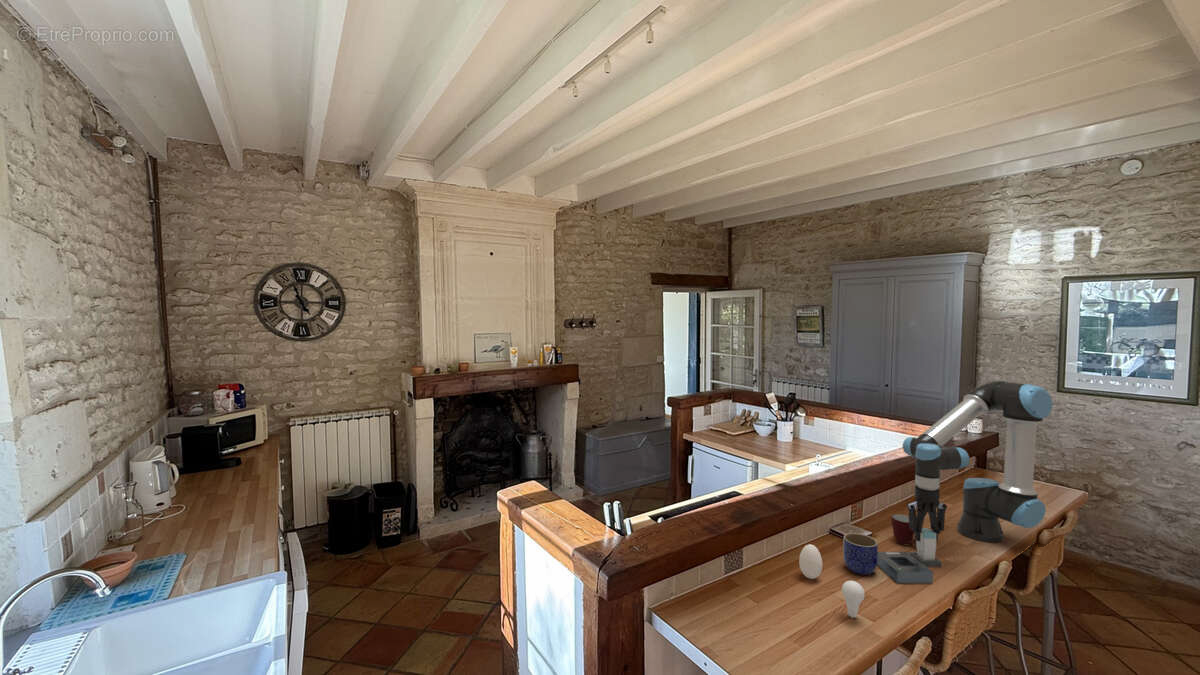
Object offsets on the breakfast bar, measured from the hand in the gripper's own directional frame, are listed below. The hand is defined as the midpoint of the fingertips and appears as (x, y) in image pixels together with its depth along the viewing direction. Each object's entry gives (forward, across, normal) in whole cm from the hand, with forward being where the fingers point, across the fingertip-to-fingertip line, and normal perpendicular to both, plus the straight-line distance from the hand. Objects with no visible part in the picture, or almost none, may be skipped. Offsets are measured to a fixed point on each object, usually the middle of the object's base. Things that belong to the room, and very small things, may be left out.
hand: (926, 548), depth 179 cm
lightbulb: (+5, +44, +32) cm, 55 cm away
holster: (+5, 0, 0) cm, 5 cm away
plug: (+4, 0, 0) cm, 4 cm away
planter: (+5, +27, +5) cm, 28 cm away
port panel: (+5, +13, +7) cm, 16 cm away
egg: (+5, +47, +10) cm, 49 cm away
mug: (+5, -2, -14) cm, 15 cm away
